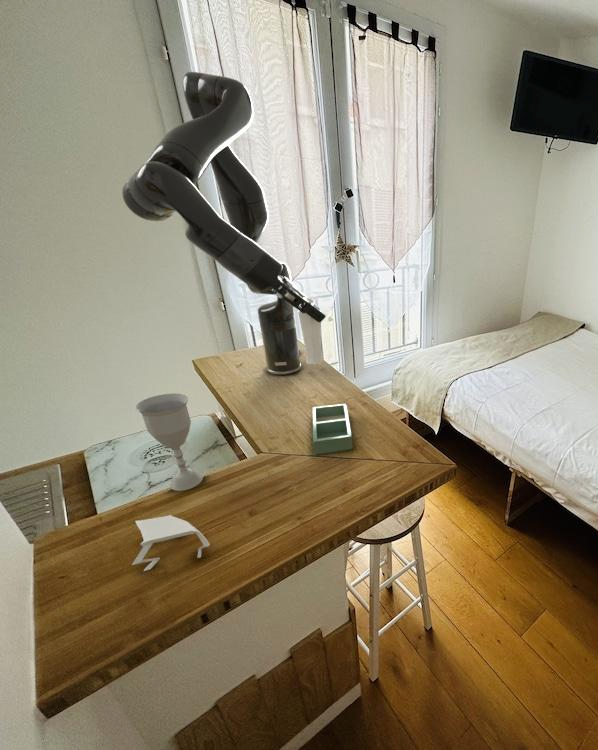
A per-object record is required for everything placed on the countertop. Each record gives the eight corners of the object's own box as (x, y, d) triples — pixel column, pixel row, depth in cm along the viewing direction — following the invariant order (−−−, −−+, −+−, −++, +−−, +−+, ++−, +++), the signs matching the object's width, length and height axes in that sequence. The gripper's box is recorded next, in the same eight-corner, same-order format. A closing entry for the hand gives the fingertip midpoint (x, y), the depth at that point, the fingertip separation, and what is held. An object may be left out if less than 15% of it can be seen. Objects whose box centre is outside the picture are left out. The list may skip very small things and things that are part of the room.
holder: (313, 419, 101) (312, 407, 100) (347, 415, 104) (346, 403, 103) (314, 454, 89) (313, 441, 87) (352, 449, 92) (351, 436, 90)
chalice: (159, 498, 73) (130, 415, 66) (166, 475, 79) (140, 396, 71) (207, 488, 77) (185, 408, 69) (211, 467, 82) (191, 391, 74)
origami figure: (113, 578, 59) (102, 555, 57) (147, 533, 66) (138, 511, 64) (204, 570, 61) (197, 548, 59) (227, 528, 69) (221, 507, 67)
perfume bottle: (329, 358, 95) (323, 297, 89) (319, 365, 91) (313, 302, 85) (310, 356, 95) (304, 295, 89) (300, 363, 91) (292, 299, 85)
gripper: (268, 255, 73) (340, 312, 85) (257, 242, 83) (323, 295, 95) (239, 284, 72) (316, 338, 84) (232, 268, 83) (301, 318, 94)
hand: (319, 315), depth 90 cm, fingers closed on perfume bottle, 4 cm apart
